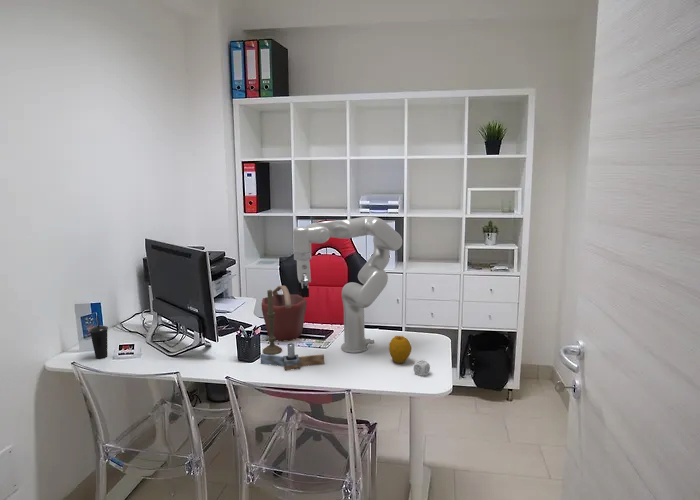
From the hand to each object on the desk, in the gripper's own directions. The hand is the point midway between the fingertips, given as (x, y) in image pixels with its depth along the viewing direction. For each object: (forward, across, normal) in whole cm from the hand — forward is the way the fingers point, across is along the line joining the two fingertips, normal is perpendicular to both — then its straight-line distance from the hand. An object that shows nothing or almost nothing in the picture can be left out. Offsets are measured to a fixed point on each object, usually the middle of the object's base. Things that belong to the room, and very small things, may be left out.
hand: (303, 294), depth 220 cm
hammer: (+30, -4, +6) cm, 31 cm away
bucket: (+31, +34, +6) cm, 46 cm away
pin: (+30, -6, +7) cm, 32 cm away
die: (+31, -26, -45) cm, 60 cm away
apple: (+31, -12, -40) cm, 52 cm away
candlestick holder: (+31, +14, +14) cm, 36 cm away
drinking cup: (+31, +26, +91) cm, 99 cm away
